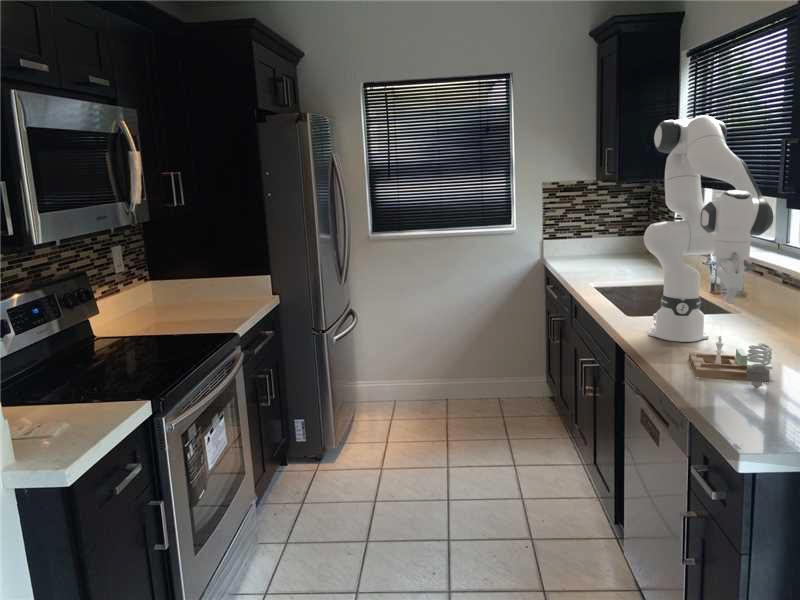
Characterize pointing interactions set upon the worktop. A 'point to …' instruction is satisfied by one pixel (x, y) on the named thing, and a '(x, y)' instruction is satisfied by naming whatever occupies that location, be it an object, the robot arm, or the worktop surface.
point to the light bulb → (759, 371)
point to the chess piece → (719, 351)
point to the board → (718, 367)
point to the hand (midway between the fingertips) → (727, 299)
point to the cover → (742, 359)
